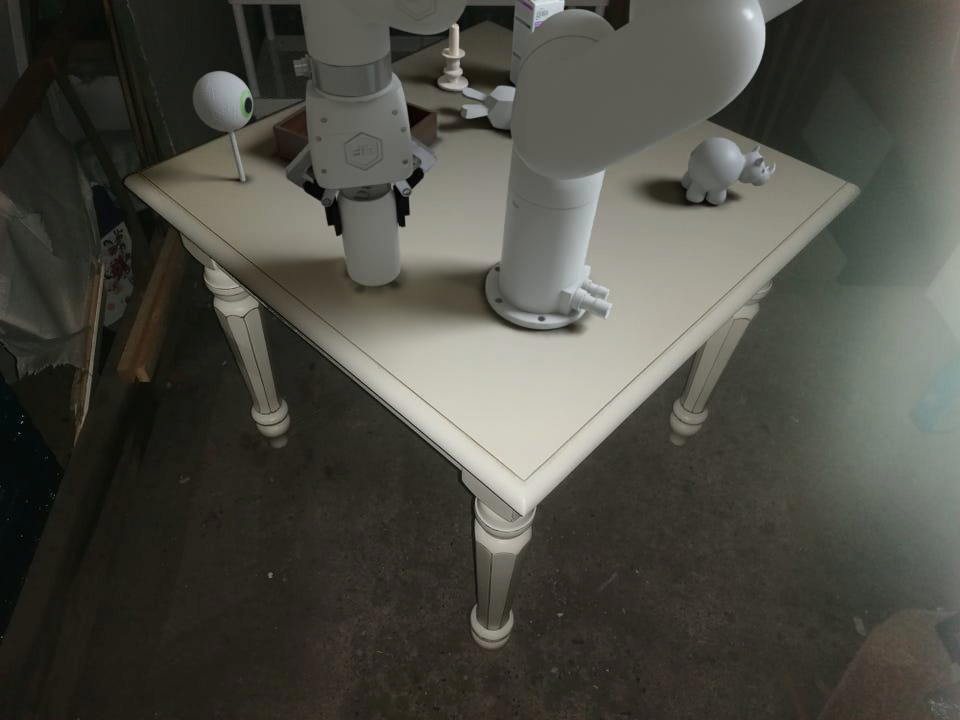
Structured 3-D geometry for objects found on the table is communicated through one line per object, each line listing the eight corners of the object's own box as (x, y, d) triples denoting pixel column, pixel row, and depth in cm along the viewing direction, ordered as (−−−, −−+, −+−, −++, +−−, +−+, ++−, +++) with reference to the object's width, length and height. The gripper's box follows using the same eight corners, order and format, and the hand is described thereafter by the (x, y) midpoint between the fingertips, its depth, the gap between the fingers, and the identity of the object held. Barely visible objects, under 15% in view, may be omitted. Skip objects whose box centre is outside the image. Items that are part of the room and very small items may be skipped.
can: (407, 257, 83) (401, 173, 74) (393, 292, 79) (385, 207, 70) (356, 250, 83) (345, 166, 74) (340, 284, 79) (326, 199, 70)
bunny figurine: (561, 117, 101) (463, 101, 99) (553, 147, 104) (458, 132, 103) (556, 87, 107) (464, 71, 105) (549, 116, 111) (459, 102, 109)
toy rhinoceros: (767, 214, 94) (792, 161, 87) (682, 207, 94) (700, 153, 87) (756, 185, 98) (779, 132, 92) (675, 178, 98) (692, 125, 92)
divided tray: (437, 139, 102) (437, 112, 99) (371, 192, 92) (369, 164, 89) (348, 107, 107) (346, 80, 104) (277, 154, 97) (272, 126, 94)
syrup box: (525, 95, 113) (535, 4, 102) (508, 79, 116) (515, -10, 105) (553, 88, 115) (566, -1, 104) (535, 73, 118) (546, -15, 107)
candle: (472, 81, 115) (475, 18, 108) (461, 94, 112) (463, 30, 104) (444, 74, 116) (445, 11, 109) (432, 87, 113) (432, 23, 105)
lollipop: (256, 198, 90) (230, 91, 79) (206, 190, 91) (174, 83, 79) (277, 170, 95) (256, 65, 83) (230, 162, 95) (202, 57, 84)
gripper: (258, 96, 58) (294, 256, 72) (450, 78, 62) (451, 234, 75) (254, 58, 63) (289, 214, 77) (433, 44, 67) (436, 196, 80)
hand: (369, 223), depth 76 cm, fingers closed on can, 6 cm apart
